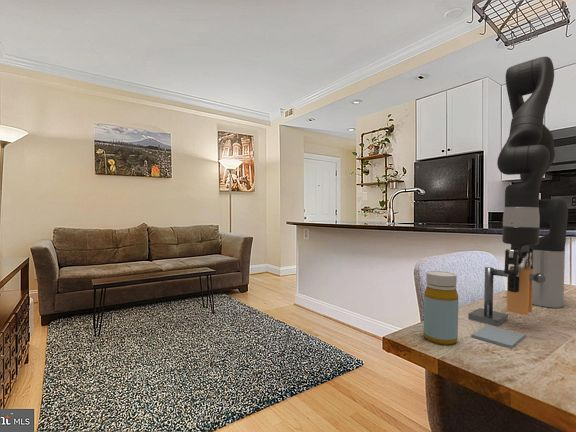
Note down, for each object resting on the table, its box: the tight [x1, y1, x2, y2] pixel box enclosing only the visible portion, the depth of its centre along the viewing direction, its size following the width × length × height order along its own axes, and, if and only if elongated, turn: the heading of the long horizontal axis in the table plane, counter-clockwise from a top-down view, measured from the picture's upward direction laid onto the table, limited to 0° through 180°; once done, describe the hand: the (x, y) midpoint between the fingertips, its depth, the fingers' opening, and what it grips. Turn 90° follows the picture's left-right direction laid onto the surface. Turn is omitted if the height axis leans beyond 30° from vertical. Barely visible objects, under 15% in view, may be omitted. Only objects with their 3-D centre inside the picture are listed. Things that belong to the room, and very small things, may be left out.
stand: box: [467, 266, 546, 327], centre depth 84 cm, size 8×16×14 cm, turn 40°
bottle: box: [422, 270, 459, 346], centre depth 74 cm, size 7×7×15 cm
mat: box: [470, 324, 526, 349], centre depth 75 cm, size 10×8×1 cm
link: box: [506, 268, 533, 316], centre depth 82 cm, size 4×4×11 cm
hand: (518, 289), depth 82 cm, fingers open, 8 cm apart
